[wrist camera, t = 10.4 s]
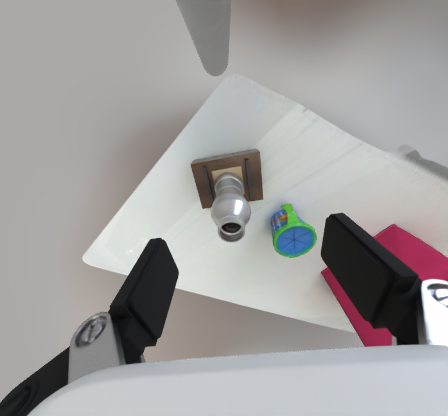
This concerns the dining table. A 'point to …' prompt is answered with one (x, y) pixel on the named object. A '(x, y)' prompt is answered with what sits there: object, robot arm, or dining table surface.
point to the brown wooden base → (236, 163)
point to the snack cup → (291, 233)
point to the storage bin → (410, 255)
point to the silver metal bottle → (230, 207)
